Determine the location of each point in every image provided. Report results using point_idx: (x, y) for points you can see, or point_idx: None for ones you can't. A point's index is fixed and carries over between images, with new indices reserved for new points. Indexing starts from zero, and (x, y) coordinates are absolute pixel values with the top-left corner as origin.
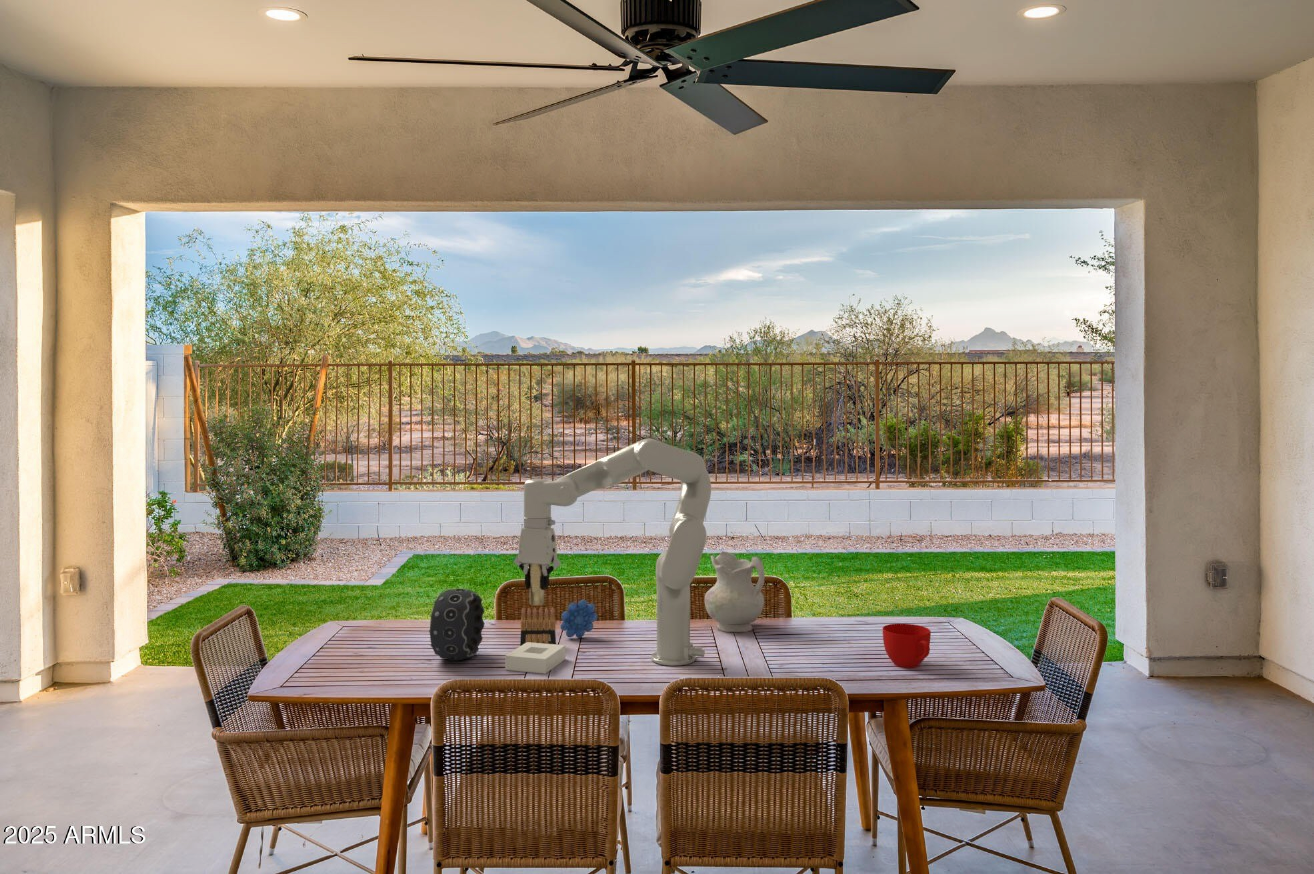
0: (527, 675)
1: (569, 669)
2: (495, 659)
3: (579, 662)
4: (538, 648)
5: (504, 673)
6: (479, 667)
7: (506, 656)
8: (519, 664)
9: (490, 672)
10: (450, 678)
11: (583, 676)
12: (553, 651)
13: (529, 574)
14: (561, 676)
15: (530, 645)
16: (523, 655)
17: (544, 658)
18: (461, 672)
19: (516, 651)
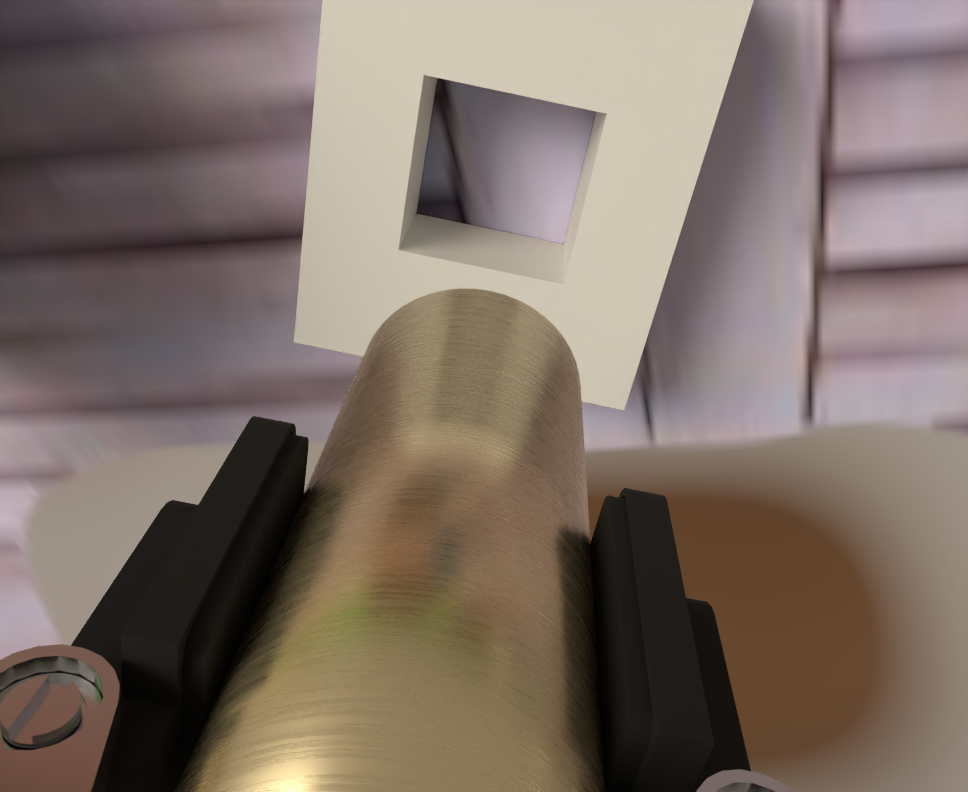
0: None
1: (783, 258)
2: (139, 41)
3: (865, 68)
4: (500, 90)
5: (343, 366)
6: (122, 254)
7: (305, 341)
8: None
9: (245, 351)
10: (67, 463)
11: (887, 398)
12: (661, 210)
13: (180, 775)
14: (734, 404)
15: (406, 28)
16: None
17: (614, 398)
18: (65, 360)
19: (342, 233)
